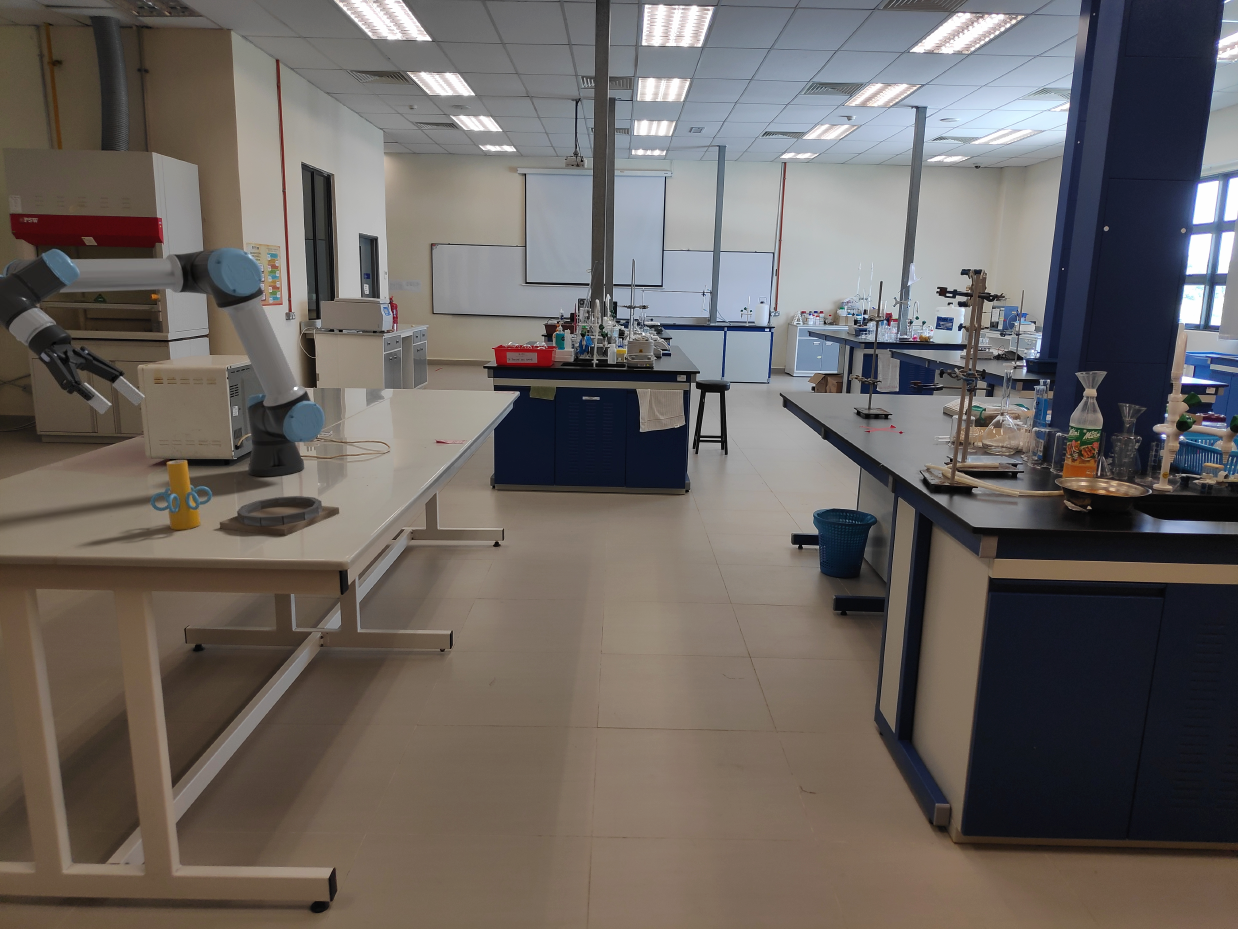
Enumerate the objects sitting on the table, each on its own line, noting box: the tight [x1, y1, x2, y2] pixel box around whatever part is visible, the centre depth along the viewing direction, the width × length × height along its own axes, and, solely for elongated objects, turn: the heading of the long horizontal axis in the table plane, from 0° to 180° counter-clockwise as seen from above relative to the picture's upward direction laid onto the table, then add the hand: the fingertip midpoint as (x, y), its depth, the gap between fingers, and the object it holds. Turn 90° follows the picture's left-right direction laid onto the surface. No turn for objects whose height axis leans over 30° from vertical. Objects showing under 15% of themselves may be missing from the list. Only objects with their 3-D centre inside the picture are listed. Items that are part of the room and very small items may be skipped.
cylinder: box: [150, 459, 213, 531], centre depth 176 cm, size 12×10×15 cm
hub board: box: [219, 495, 340, 537], centre depth 181 cm, size 18×18×4 cm
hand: (124, 405), depth 171 cm, fingers open, 13 cm apart
